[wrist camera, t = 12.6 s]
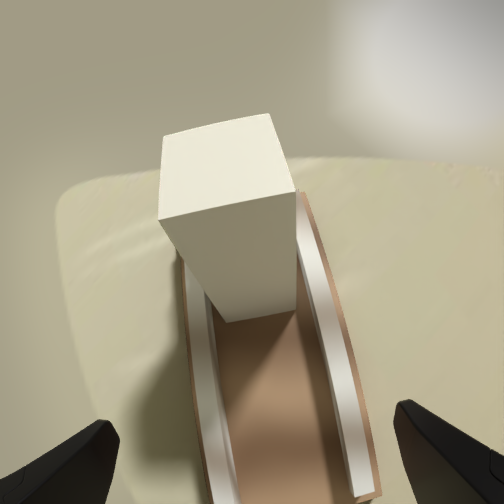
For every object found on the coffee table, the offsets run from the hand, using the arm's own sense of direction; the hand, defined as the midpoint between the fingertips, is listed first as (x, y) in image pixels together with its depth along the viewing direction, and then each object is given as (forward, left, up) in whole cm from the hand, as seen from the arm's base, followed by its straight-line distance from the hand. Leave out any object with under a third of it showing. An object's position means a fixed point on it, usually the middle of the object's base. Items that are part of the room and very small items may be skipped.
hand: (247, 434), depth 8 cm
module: (+8, -1, -7) cm, 11 cm away
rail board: (+4, -1, -8) cm, 9 cm away
